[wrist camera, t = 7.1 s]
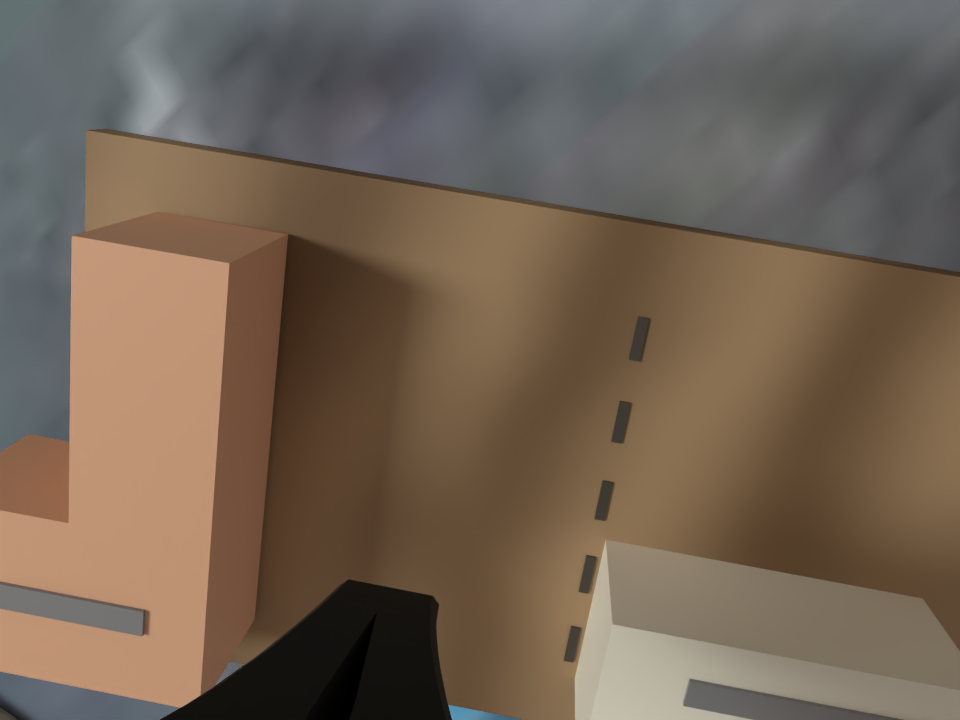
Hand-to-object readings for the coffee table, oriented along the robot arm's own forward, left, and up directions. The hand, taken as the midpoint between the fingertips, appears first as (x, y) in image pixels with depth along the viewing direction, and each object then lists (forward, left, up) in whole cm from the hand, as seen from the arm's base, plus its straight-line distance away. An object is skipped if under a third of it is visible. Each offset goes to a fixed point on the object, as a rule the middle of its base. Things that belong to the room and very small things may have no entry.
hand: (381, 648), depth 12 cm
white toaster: (-8, +4, -9) cm, 13 cm away
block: (+7, +1, -8) cm, 11 cm away
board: (-2, +1, -9) cm, 10 cm away
